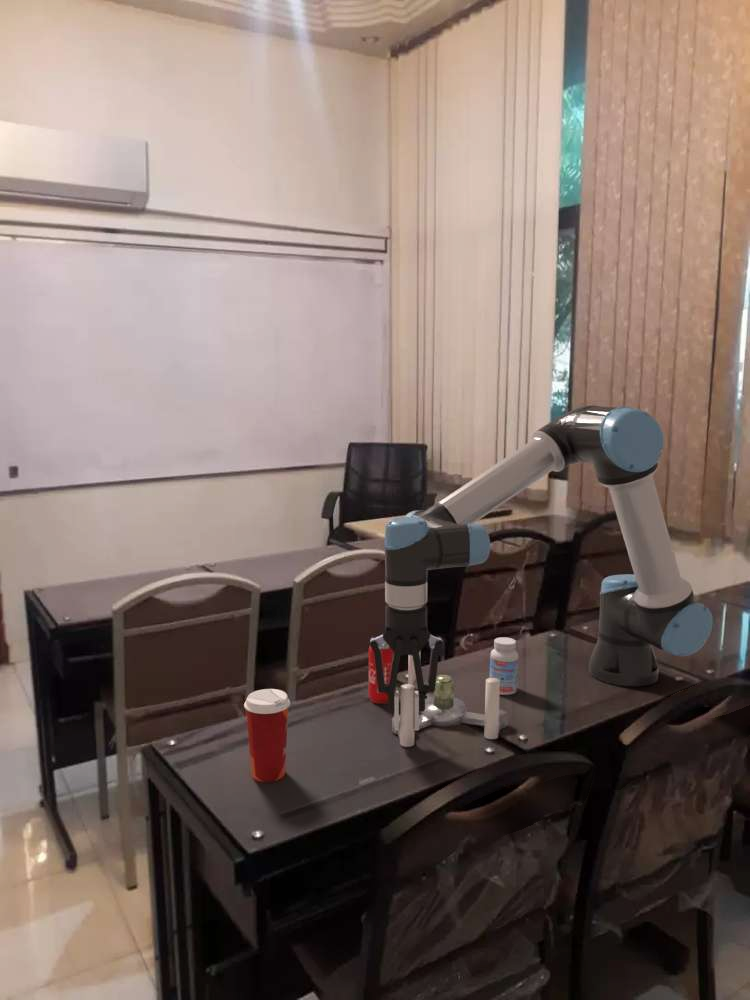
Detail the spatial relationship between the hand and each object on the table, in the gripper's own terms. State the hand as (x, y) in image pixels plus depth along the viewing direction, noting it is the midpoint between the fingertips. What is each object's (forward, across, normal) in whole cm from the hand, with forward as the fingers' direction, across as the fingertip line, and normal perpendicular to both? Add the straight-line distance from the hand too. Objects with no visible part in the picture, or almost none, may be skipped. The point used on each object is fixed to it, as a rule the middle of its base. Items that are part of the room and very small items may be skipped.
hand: (406, 726), depth 144 cm
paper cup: (+3, +24, +11) cm, 27 cm away
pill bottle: (+4, -22, -26) cm, 34 cm away
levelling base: (+4, -7, -14) cm, 16 cm away
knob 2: (+4, -17, -6) cm, 18 cm away
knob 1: (+3, 0, -3) cm, 4 cm away
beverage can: (+4, +5, -20) cm, 21 cm away
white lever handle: (+3, -4, -25) cm, 26 cm away
